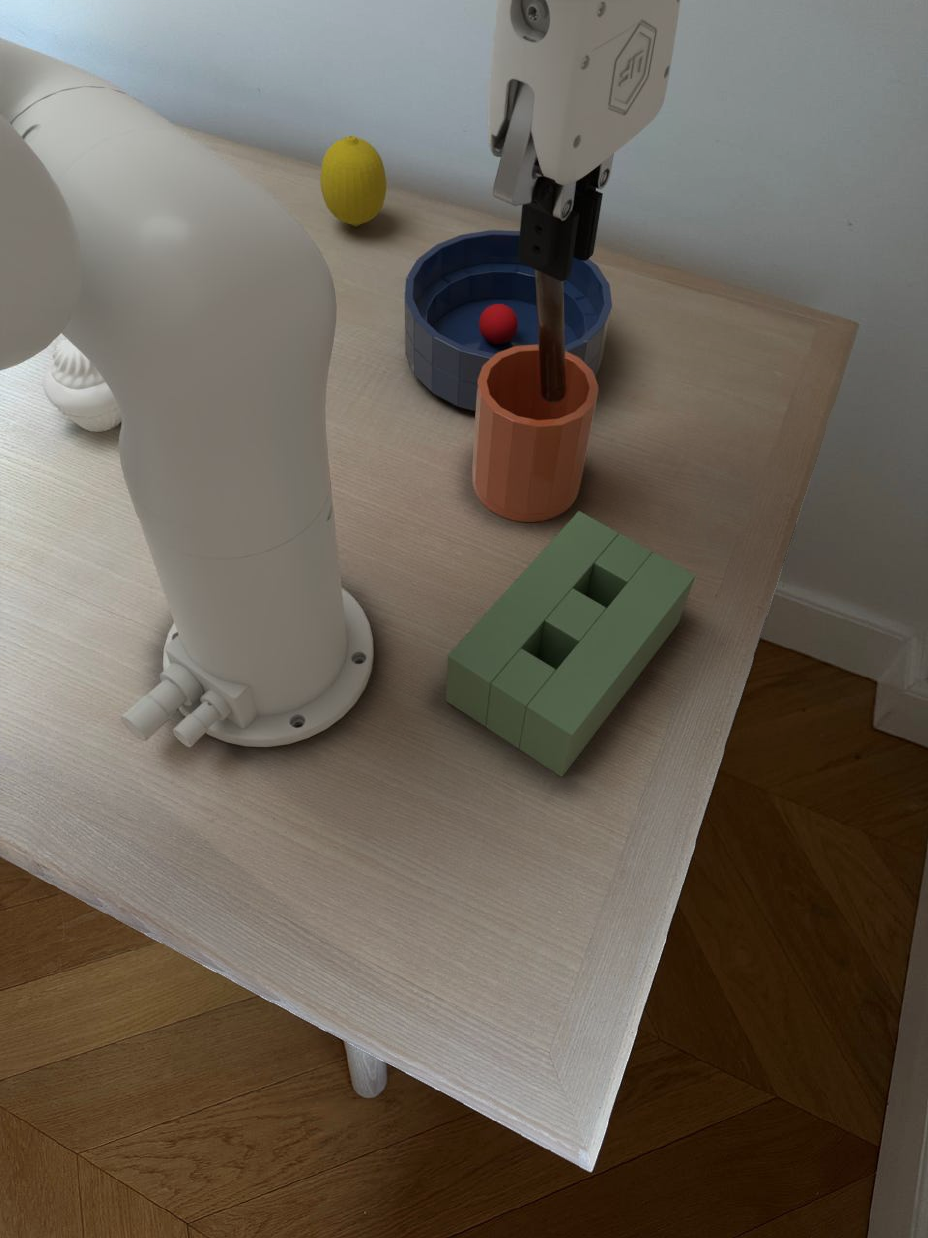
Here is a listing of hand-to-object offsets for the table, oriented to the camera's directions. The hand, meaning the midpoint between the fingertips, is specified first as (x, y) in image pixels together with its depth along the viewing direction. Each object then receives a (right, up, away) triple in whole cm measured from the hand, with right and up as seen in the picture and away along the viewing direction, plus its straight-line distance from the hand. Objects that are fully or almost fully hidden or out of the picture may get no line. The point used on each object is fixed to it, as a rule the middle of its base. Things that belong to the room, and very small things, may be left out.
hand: (555, 257), depth 57 cm
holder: (+1, -23, +6) cm, 24 cm away
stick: (+1, -6, +8) cm, 10 cm away
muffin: (-32, -6, +17) cm, 36 cm away
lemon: (-15, +14, +32) cm, 38 cm away
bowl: (-2, 0, +22) cm, 22 cm away
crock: (-1, -11, +15) cm, 18 cm away
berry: (-3, +2, +21) cm, 21 cm away
